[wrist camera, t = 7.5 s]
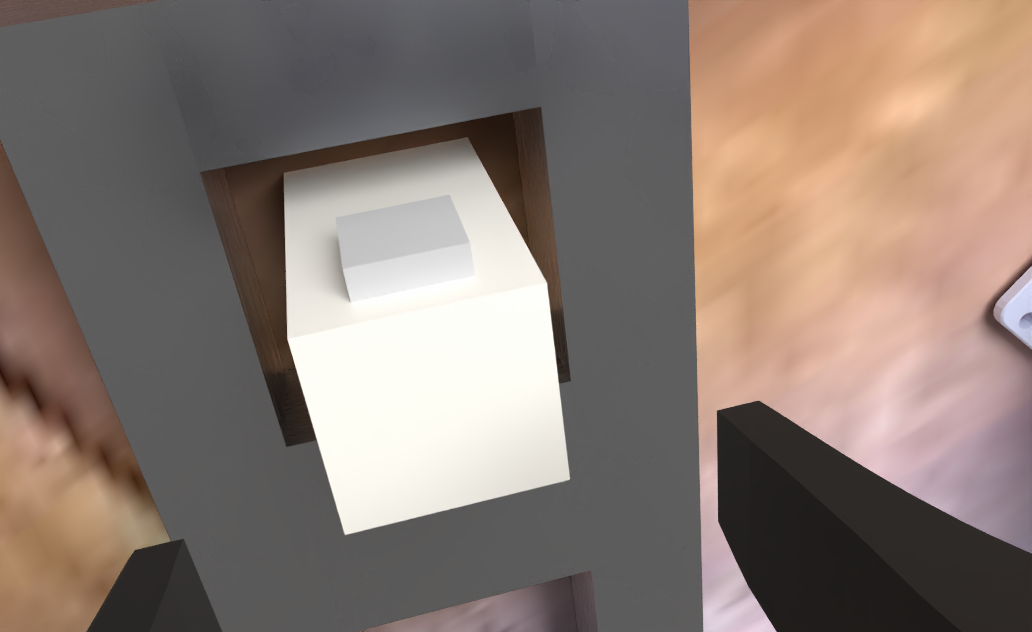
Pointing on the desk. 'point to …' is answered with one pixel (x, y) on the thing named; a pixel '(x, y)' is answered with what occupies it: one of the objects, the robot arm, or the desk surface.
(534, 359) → the plug
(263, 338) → the jack panel
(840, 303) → the desk surface
